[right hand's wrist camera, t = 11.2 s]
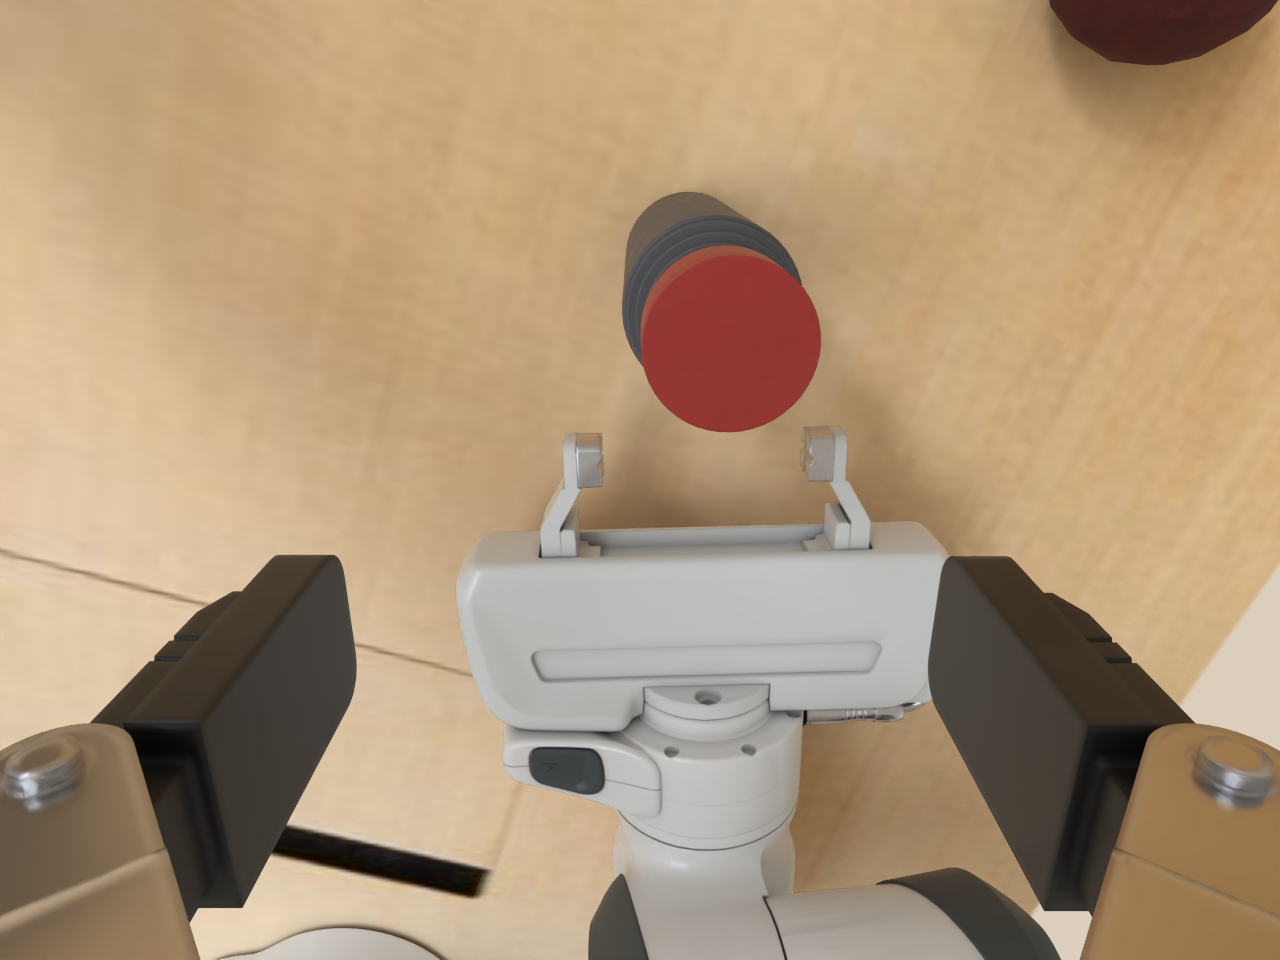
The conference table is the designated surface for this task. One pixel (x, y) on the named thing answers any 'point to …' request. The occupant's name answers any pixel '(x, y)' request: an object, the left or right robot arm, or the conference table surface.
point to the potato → (1157, 26)
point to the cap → (728, 339)
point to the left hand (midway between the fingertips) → (703, 433)
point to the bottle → (684, 247)
